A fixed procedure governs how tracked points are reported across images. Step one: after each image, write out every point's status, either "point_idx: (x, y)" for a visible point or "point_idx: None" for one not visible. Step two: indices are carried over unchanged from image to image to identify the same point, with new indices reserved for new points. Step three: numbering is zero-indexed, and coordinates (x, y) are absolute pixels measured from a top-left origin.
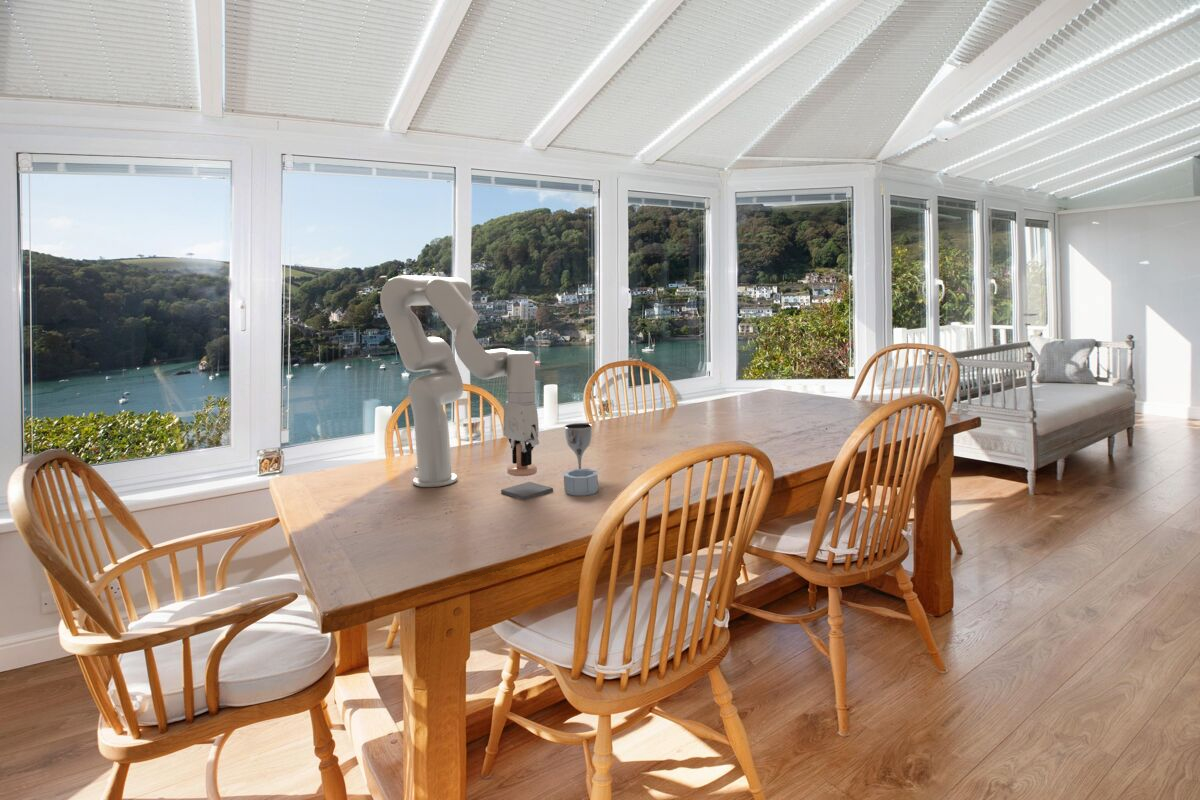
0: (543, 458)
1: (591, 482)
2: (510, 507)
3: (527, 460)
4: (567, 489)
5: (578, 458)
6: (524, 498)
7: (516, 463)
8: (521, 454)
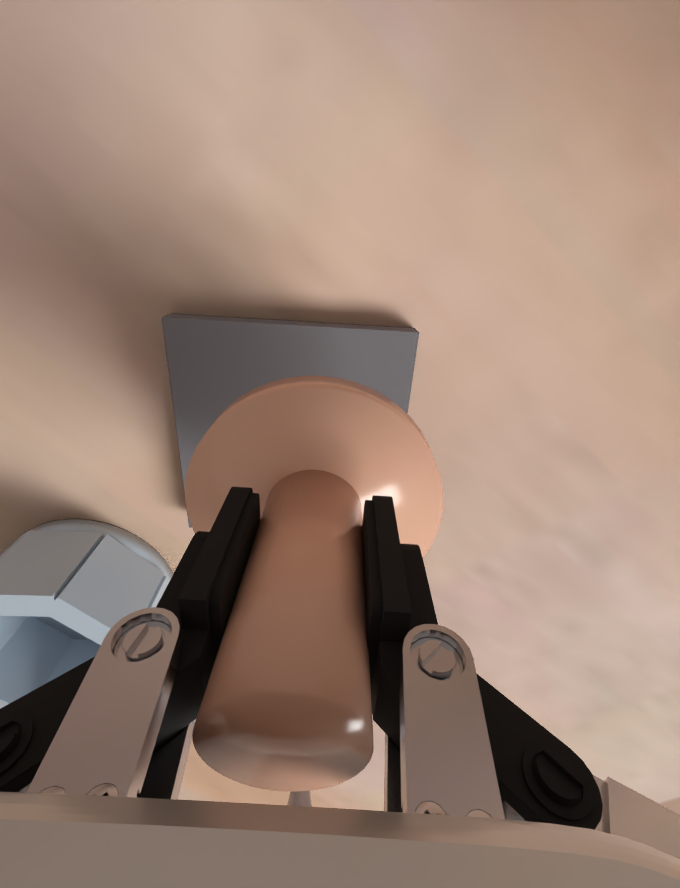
0: (612, 763)
1: None
2: (87, 117)
3: (189, 555)
4: (75, 537)
5: (296, 793)
6: (167, 315)
7: (344, 504)
8: (206, 572)
